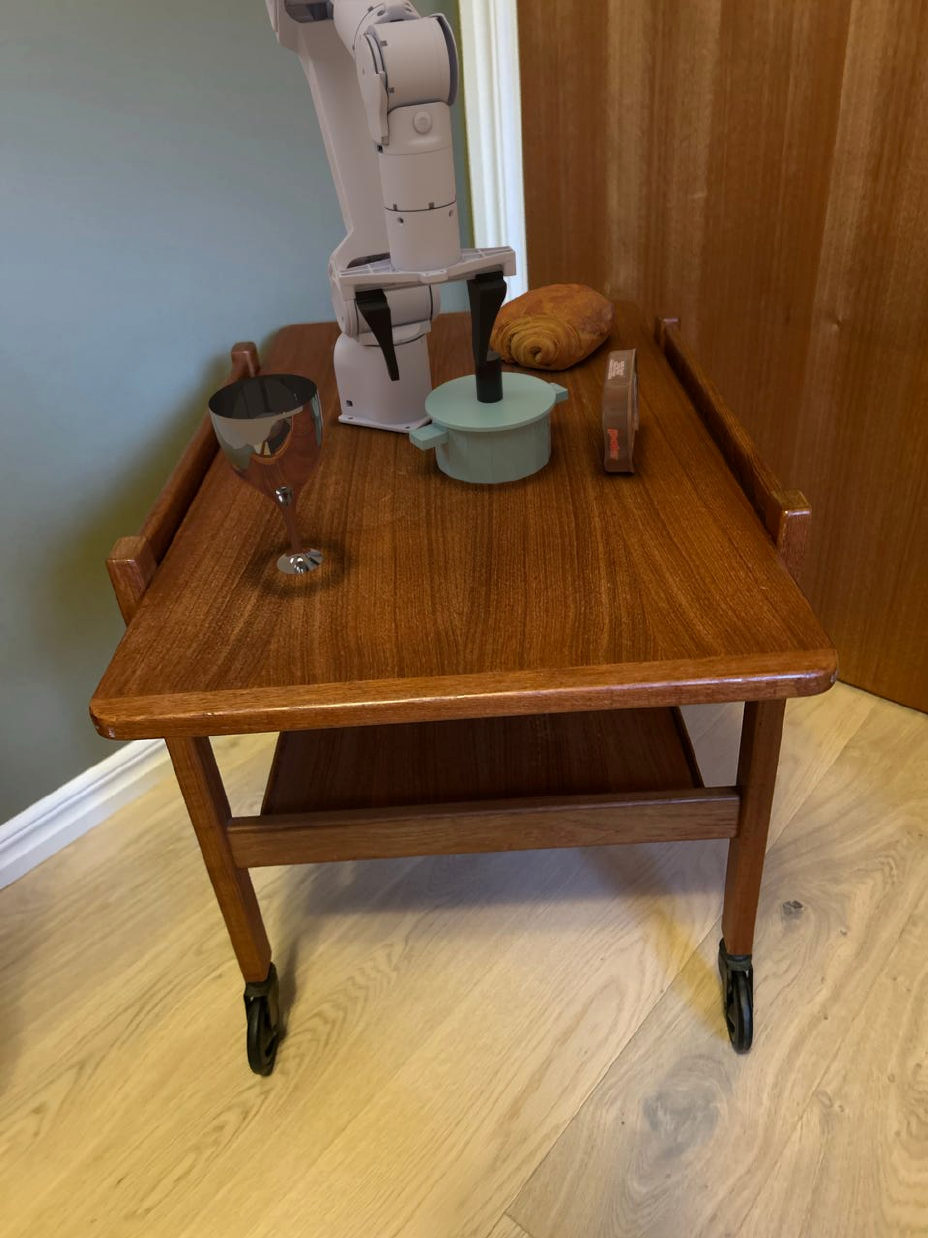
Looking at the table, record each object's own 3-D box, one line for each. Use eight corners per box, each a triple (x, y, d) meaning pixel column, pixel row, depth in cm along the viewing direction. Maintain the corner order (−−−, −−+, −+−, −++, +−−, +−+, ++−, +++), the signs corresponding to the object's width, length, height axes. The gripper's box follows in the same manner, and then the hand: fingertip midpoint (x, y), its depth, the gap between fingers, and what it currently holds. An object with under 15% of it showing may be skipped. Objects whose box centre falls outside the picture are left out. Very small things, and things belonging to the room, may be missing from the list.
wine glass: (307, 604, 71) (268, 427, 62) (232, 579, 74) (184, 408, 65) (367, 553, 76) (339, 382, 67) (295, 532, 80) (258, 367, 70)
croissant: (630, 351, 112) (638, 283, 107) (574, 381, 100) (580, 307, 96) (527, 333, 118) (530, 268, 114) (463, 360, 107) (464, 289, 103)
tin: (633, 489, 81) (636, 401, 76) (597, 488, 82) (598, 400, 76) (640, 416, 93) (643, 334, 87) (608, 415, 93) (610, 335, 88)
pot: (393, 466, 88) (385, 409, 84) (529, 417, 94) (527, 362, 91) (452, 510, 80) (446, 450, 77) (595, 454, 87) (596, 396, 83)
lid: (402, 406, 86) (396, 354, 83) (507, 372, 91) (504, 321, 88) (471, 451, 78) (467, 395, 75) (582, 411, 82) (582, 356, 79)
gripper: (333, 227, 67) (360, 400, 75) (523, 200, 69) (529, 372, 77) (324, 206, 73) (350, 370, 81) (500, 182, 75) (508, 345, 83)
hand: (437, 369), depth 79 cm, fingers open, 7 cm apart
